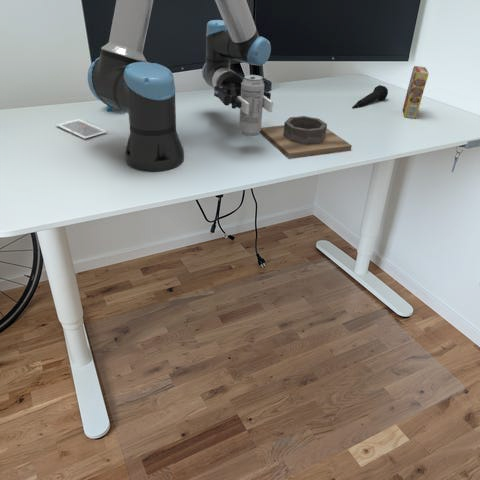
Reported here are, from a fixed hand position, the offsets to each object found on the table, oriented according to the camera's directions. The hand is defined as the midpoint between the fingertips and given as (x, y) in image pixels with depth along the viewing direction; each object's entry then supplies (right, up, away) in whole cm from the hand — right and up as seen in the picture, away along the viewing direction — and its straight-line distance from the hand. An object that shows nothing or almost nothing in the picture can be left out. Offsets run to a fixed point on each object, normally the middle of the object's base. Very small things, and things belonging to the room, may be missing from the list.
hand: (259, 107), depth 118 cm
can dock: (+14, -5, +18) cm, 23 cm away
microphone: (+42, +16, +52) cm, 69 cm away
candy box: (+54, +10, +42) cm, 70 cm away
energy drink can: (-2, -5, +9) cm, 10 cm away
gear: (-46, +9, +35) cm, 58 cm away
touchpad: (-52, -2, +18) cm, 55 cm away
